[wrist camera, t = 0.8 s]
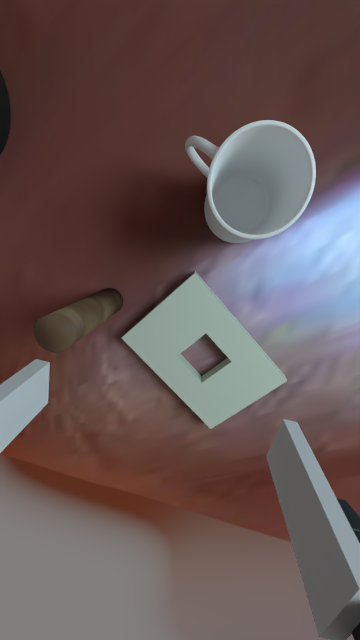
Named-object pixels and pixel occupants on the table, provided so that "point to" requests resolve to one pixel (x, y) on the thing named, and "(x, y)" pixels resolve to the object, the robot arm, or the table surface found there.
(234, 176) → the mug
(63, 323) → the peg
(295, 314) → the table surface
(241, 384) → the socket board
